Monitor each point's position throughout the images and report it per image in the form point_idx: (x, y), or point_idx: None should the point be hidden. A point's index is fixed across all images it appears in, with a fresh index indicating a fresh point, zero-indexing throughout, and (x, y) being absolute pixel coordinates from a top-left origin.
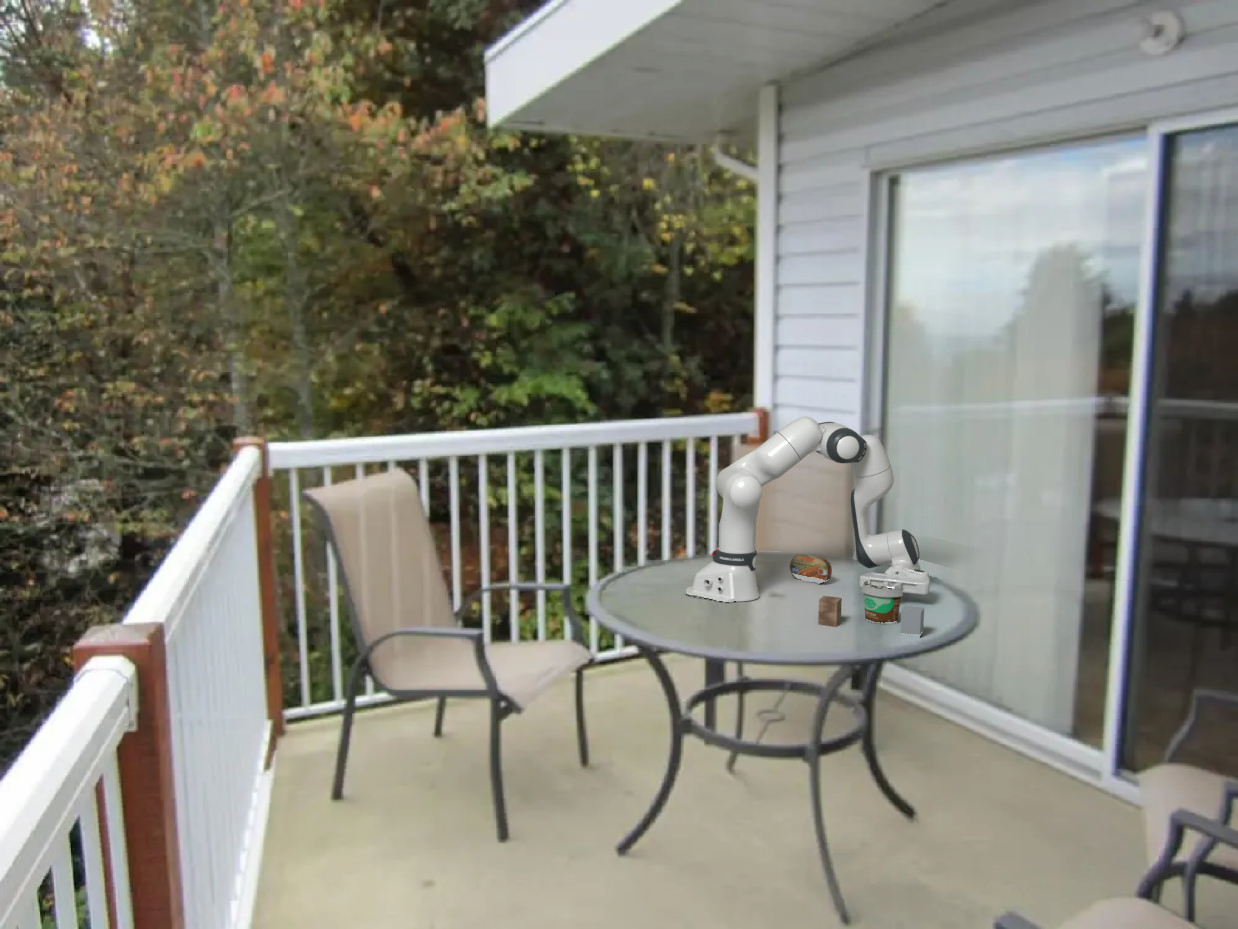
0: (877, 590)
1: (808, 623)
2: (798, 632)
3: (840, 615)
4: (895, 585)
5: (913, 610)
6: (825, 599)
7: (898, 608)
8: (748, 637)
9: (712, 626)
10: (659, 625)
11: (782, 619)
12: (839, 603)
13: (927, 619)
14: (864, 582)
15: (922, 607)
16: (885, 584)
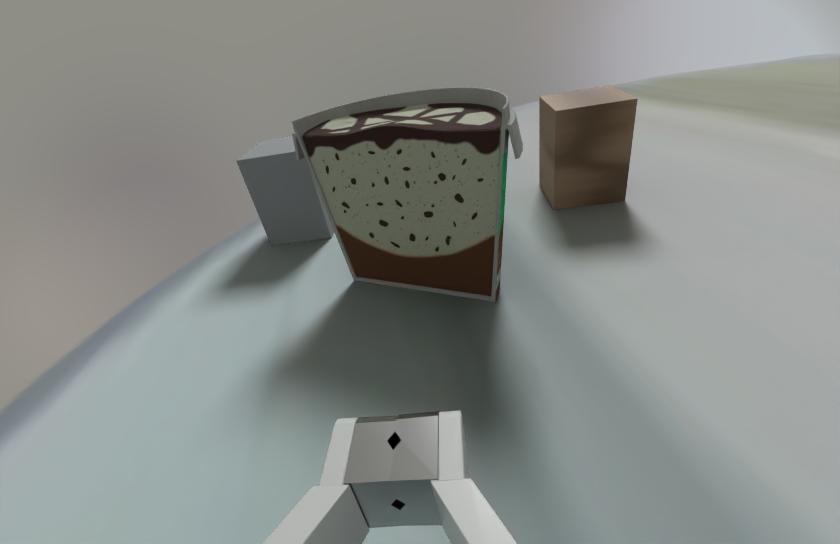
0: (407, 101)
1: (635, 171)
2: None
3: (551, 177)
4: (324, 479)
5: (282, 139)
6: (592, 91)
7: (333, 217)
8: (658, 101)
9: (800, 93)
10: None
11: (739, 160)
12: (547, 119)
13: (197, 382)
14: (505, 99)
15: (242, 159)
16: (471, 479)
